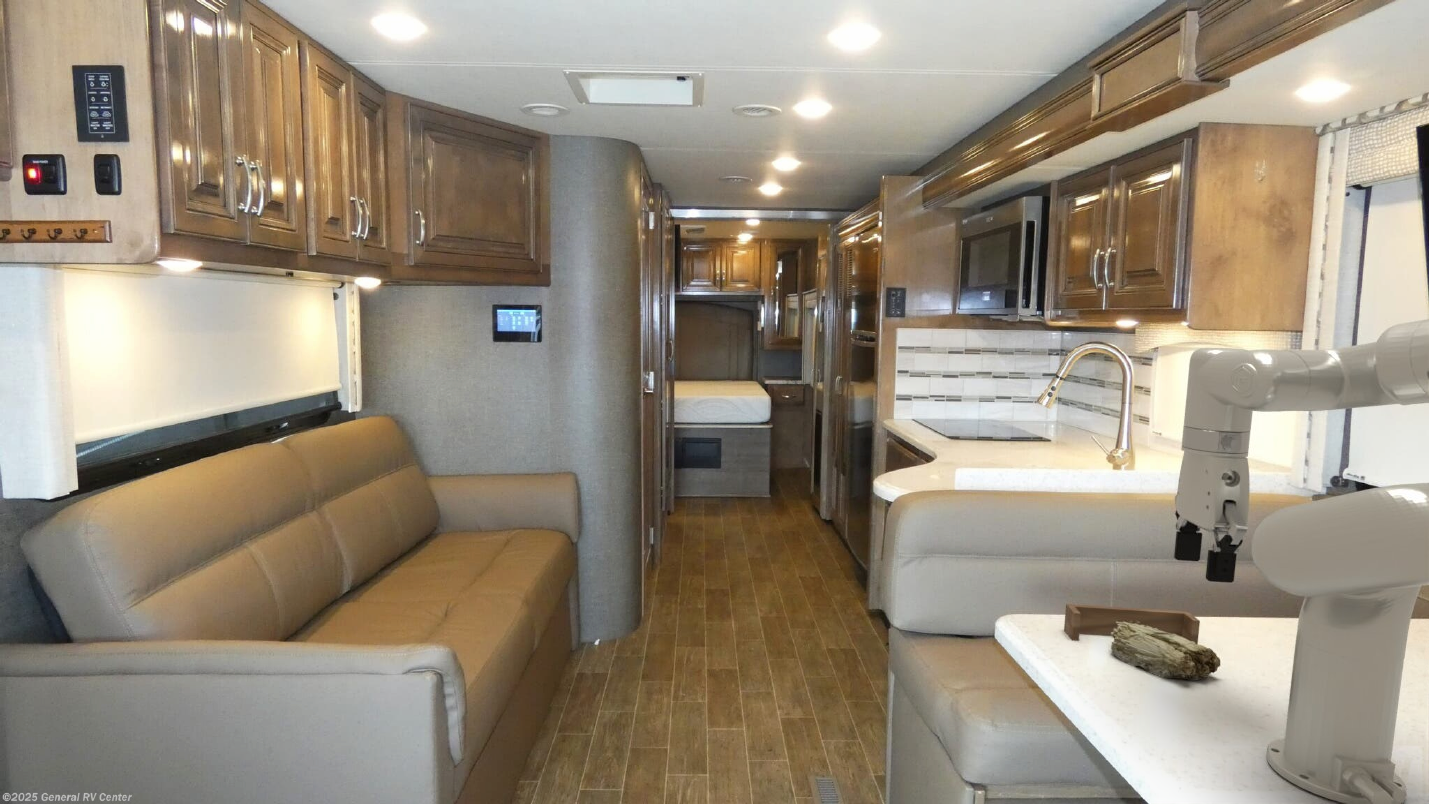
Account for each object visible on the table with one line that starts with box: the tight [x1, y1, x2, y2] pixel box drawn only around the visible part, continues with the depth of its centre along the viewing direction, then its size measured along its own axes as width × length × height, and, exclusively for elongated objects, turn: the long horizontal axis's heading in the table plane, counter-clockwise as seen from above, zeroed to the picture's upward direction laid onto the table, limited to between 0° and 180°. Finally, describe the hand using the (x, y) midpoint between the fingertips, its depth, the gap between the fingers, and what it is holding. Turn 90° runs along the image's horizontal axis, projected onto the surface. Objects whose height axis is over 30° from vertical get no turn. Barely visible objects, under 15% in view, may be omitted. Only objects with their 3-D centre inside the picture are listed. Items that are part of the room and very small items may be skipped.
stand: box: [1063, 603, 1201, 645], centre depth 130 cm, size 4×19×4 cm, turn 84°
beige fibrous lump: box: [1110, 621, 1221, 681], centre depth 121 cm, size 14×10×5 cm, turn 30°
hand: (1202, 569), depth 108 cm, fingers open, 8 cm apart
